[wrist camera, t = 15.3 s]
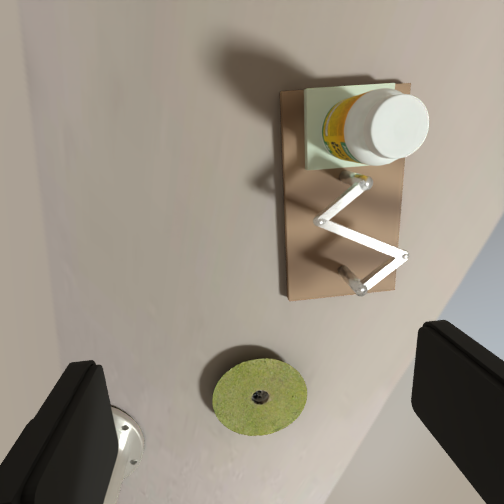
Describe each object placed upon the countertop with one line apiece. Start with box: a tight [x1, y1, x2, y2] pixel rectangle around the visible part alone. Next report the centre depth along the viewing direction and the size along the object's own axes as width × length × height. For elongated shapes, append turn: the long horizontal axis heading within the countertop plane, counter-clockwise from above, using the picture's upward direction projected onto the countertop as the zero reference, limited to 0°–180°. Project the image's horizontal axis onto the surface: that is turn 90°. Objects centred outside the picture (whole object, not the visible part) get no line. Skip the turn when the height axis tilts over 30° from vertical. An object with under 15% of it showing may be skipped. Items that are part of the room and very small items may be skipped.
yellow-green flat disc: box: [212, 358, 307, 436], centre depth 41 cm, size 11×11×2 cm
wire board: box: [280, 83, 411, 301], centre depth 35 cm, size 21×12×1 cm, turn 4°
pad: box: [304, 83, 395, 170], centre depth 32 cm, size 7×8×1 cm
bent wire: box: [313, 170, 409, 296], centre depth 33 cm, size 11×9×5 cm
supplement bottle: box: [321, 88, 429, 166], centre depth 27 cm, size 5×5×10 cm
